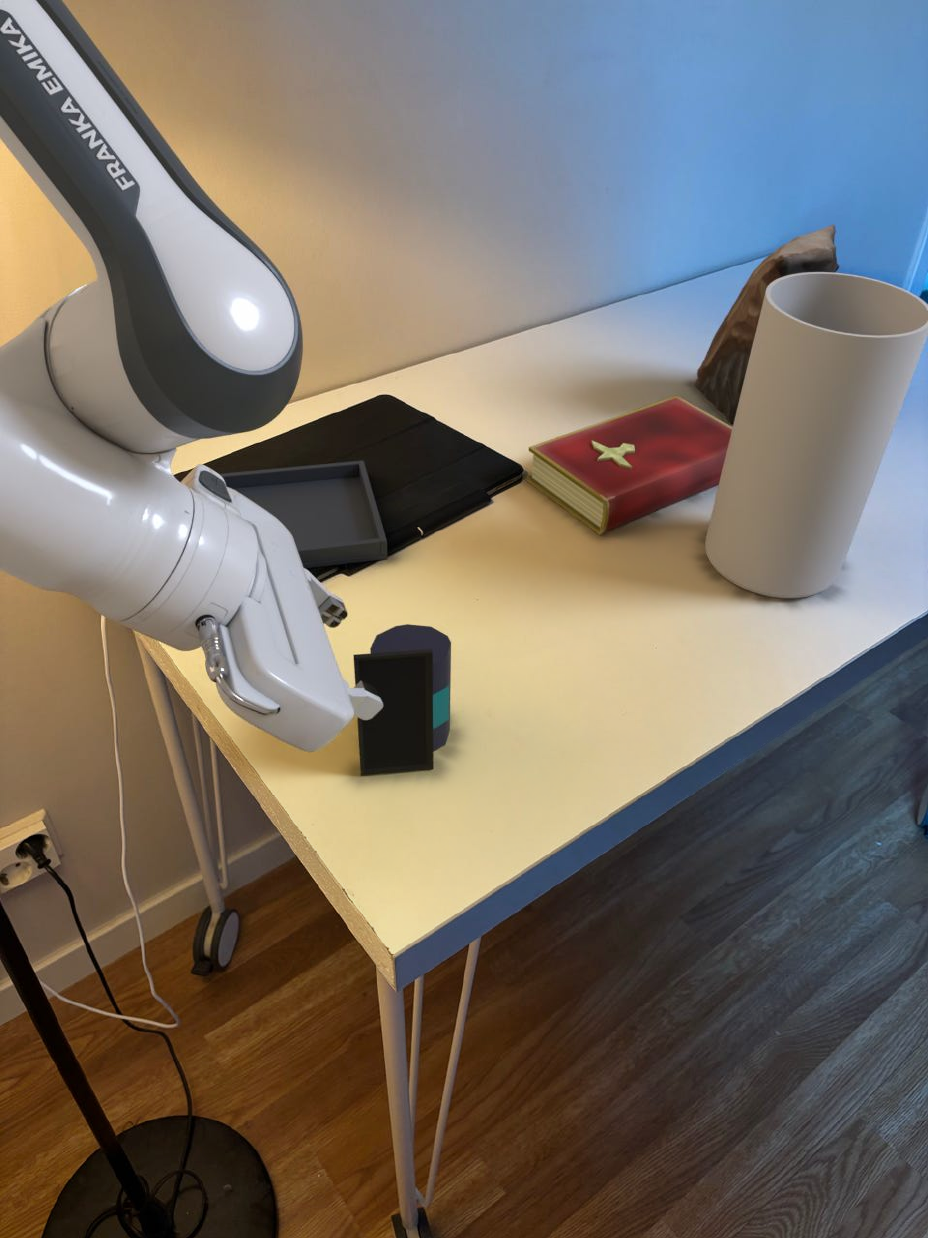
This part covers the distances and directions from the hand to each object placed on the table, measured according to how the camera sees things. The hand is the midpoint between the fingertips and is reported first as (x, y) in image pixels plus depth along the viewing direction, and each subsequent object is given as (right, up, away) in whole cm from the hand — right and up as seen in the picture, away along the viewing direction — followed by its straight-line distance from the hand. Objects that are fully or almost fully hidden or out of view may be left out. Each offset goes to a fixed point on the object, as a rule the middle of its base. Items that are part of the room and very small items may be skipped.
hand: (356, 658), depth 66 cm
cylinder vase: (+36, +8, +24) cm, 45 cm away
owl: (+41, +29, +49) cm, 70 cm away
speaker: (+3, -6, +6) cm, 9 cm away
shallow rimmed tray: (-10, +12, +26) cm, 30 cm away
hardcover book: (+26, +17, +35) cm, 47 cm away
